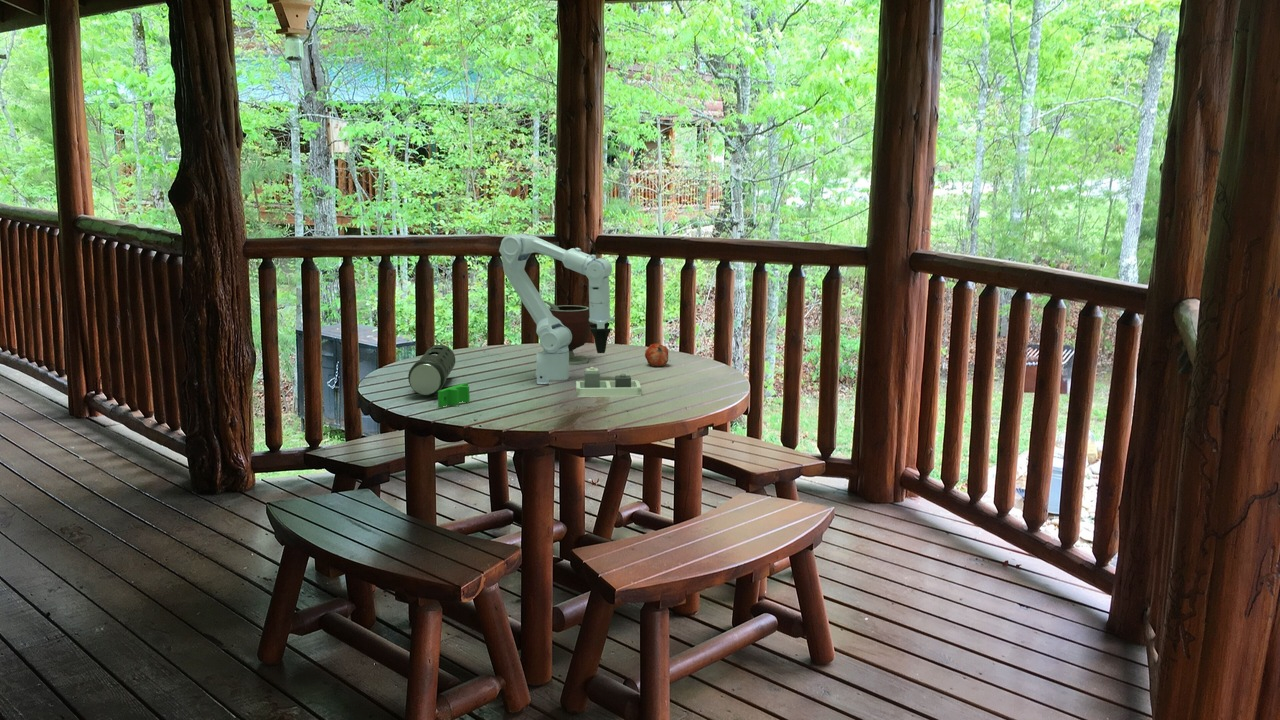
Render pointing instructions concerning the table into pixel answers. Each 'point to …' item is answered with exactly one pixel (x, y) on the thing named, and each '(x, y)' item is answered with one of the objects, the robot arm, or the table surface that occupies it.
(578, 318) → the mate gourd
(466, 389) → the pipe clamp
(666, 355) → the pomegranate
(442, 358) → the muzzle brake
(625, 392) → the pale green compartment tray
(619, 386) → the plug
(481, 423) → the table surface
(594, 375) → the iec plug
